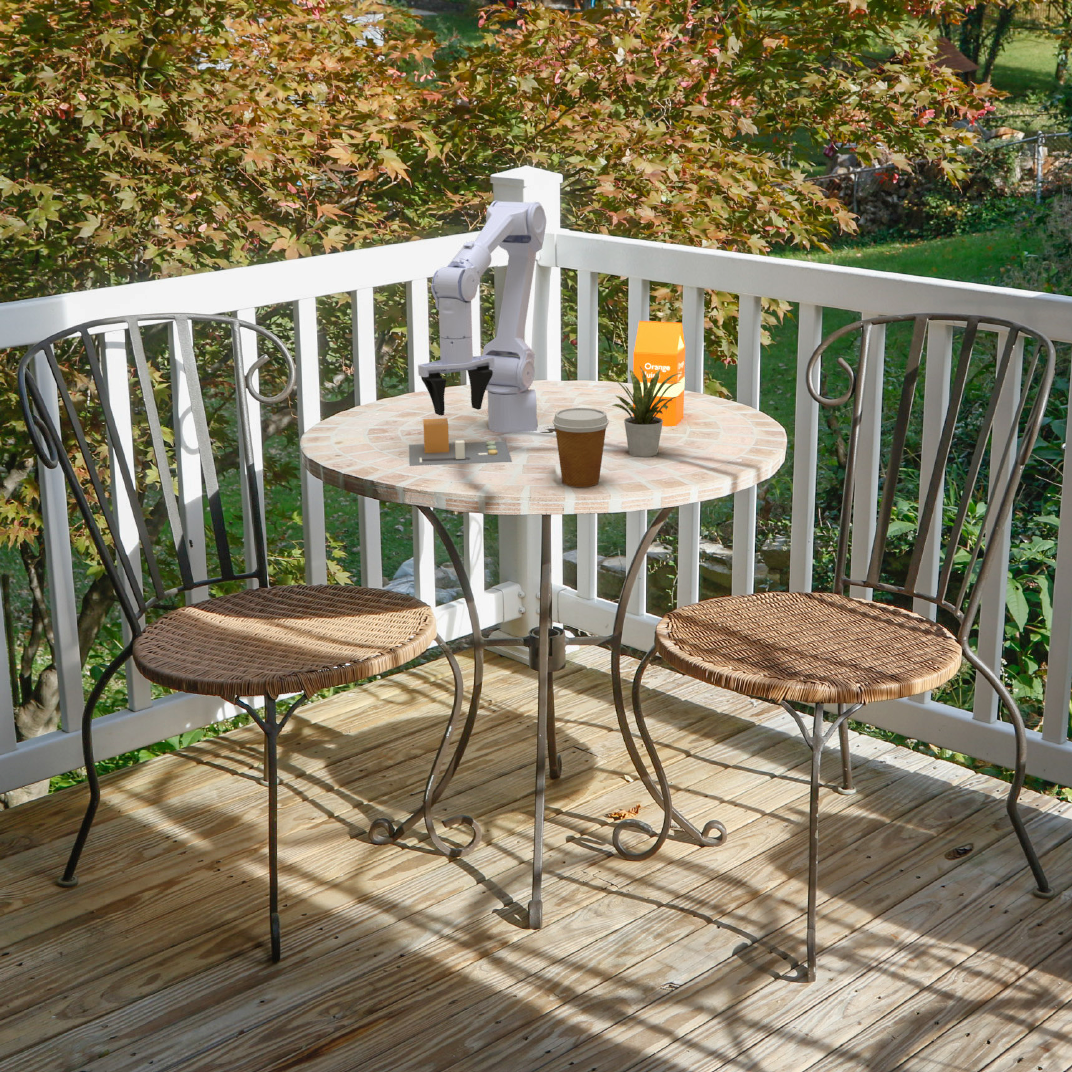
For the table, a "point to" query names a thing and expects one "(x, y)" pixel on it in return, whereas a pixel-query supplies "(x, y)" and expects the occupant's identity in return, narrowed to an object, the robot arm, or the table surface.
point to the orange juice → (662, 364)
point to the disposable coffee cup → (580, 444)
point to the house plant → (644, 414)
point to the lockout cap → (436, 435)
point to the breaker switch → (459, 449)
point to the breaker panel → (473, 454)
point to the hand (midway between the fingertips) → (458, 411)
